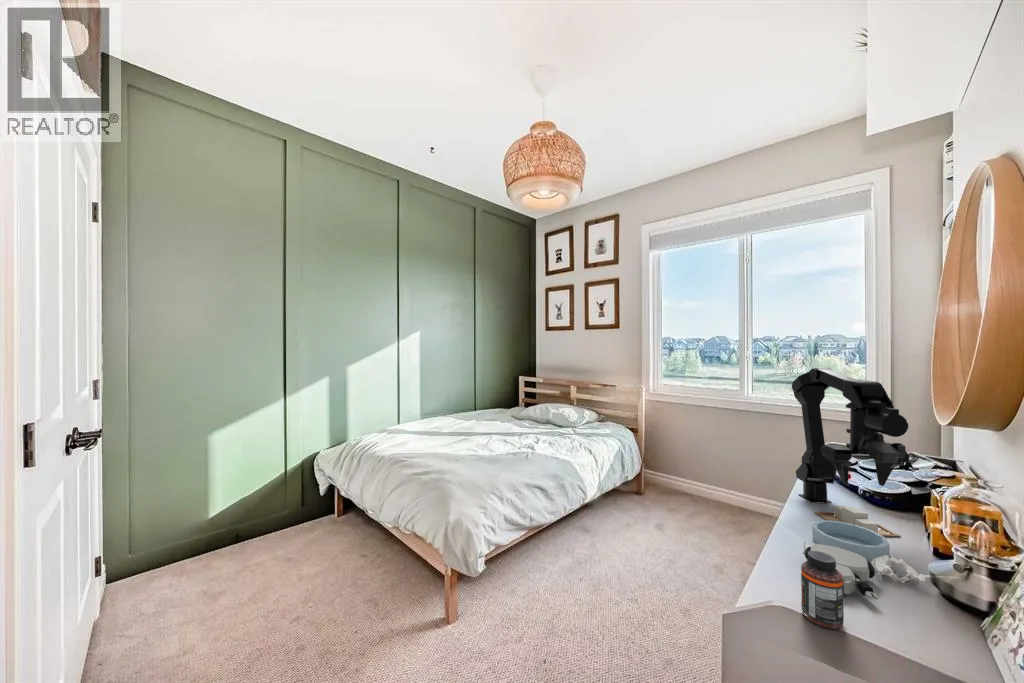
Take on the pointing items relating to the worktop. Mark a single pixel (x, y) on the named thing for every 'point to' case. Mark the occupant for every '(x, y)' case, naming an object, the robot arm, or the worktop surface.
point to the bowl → (850, 538)
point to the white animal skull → (884, 568)
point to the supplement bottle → (822, 590)
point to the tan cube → (838, 511)
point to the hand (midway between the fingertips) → (863, 484)
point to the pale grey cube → (867, 524)
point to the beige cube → (852, 514)
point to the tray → (830, 517)
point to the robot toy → (849, 568)
